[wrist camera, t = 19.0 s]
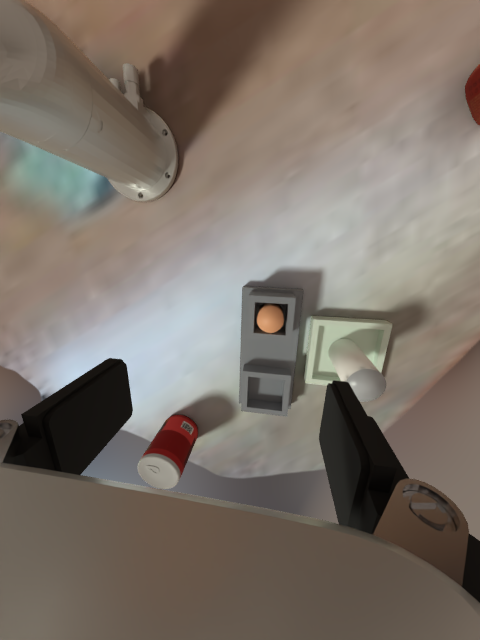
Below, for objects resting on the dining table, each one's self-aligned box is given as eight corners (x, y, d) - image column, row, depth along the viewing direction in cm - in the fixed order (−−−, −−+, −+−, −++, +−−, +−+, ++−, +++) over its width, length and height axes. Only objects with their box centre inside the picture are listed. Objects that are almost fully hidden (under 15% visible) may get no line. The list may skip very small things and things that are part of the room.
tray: (311, 315, 39) (313, 319, 37) (385, 320, 37) (392, 324, 35) (303, 376, 42) (305, 383, 40) (371, 383, 41) (376, 390, 39)
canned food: (163, 411, 50) (134, 453, 39) (198, 415, 49) (177, 459, 38) (166, 439, 52) (140, 486, 42) (200, 443, 51) (180, 492, 41)
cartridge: (330, 338, 39) (348, 367, 29) (360, 339, 38) (389, 370, 28) (326, 363, 40) (342, 399, 31) (356, 365, 39) (382, 403, 30)
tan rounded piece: (259, 301, 37) (257, 306, 33) (283, 302, 37) (284, 308, 33) (258, 323, 38) (256, 331, 35) (281, 325, 38) (282, 333, 34)
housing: (243, 286, 39) (238, 291, 34) (302, 289, 38) (306, 295, 33) (240, 398, 46) (235, 417, 41) (289, 404, 45) (291, 424, 39)
